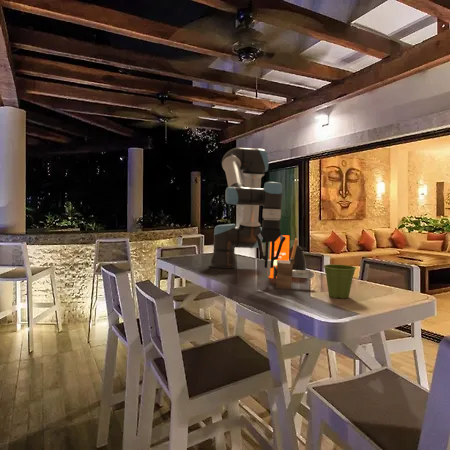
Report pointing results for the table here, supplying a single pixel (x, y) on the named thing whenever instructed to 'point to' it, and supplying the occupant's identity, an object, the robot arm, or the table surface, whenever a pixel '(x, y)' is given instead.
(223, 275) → the table surface
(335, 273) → the plant pot
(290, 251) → the pump dispenser
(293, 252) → the plate
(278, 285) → the hitch block
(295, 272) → the pin
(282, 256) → the orange juice
